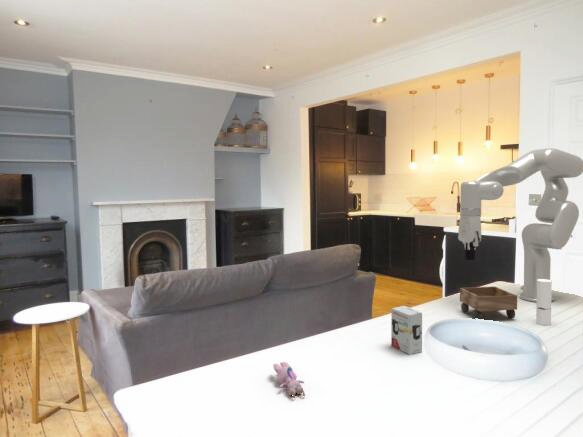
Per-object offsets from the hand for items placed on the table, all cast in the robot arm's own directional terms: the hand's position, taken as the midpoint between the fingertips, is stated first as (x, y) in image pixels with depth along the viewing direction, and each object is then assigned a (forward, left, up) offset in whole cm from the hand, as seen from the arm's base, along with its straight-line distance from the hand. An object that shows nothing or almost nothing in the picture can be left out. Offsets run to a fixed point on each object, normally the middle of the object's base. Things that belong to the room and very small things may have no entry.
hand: (469, 259), depth 166 cm
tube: (+23, +14, -19) cm, 33 cm away
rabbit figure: (+59, -76, -19) cm, 98 cm away
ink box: (+39, -40, -19) cm, 59 cm away
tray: (+12, 0, -19) cm, 23 cm away
